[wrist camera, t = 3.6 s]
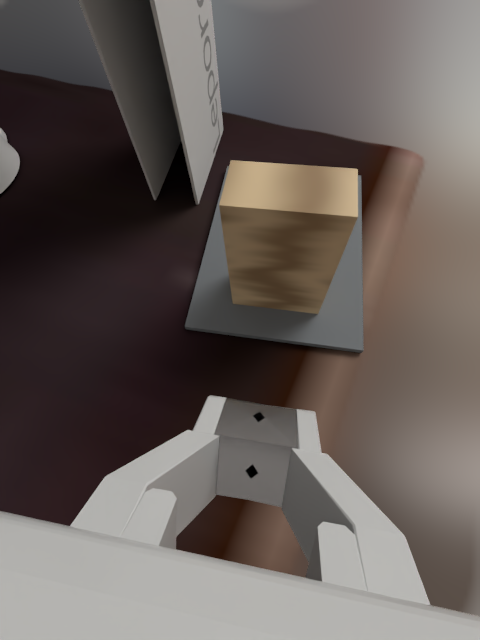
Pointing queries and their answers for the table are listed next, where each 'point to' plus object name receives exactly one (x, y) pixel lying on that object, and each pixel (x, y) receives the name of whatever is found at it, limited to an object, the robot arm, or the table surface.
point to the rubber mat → (275, 324)
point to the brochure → (162, 80)
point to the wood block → (286, 231)
